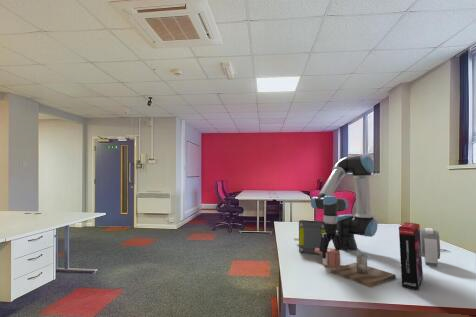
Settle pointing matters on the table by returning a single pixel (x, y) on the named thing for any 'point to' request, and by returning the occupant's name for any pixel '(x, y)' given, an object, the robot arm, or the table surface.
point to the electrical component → (310, 235)
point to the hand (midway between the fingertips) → (331, 262)
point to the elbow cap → (331, 257)
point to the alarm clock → (430, 246)
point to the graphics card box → (410, 255)
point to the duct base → (361, 277)
